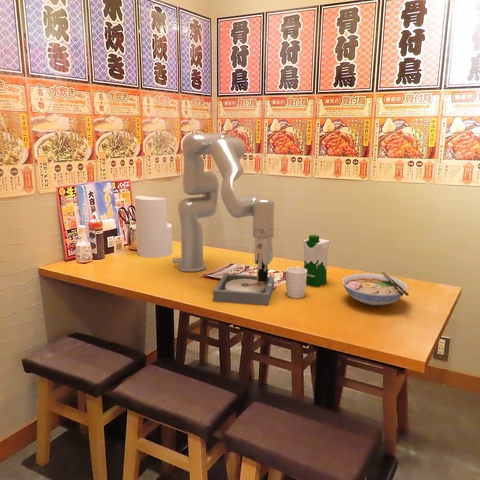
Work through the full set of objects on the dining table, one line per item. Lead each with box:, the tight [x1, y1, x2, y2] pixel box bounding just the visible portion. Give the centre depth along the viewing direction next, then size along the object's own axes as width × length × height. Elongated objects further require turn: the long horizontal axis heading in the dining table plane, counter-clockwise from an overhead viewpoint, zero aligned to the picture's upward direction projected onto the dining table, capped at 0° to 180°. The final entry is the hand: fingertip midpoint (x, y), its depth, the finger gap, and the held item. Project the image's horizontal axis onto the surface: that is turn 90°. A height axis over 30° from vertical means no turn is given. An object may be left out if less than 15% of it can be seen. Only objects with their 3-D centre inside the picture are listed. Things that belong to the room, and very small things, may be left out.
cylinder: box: [134, 195, 173, 259], centre depth 224 cm, size 17×17×28 cm
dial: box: [225, 265, 265, 293], centre depth 172 cm, size 15×15×9 cm
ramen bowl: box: [342, 271, 409, 307], centre depth 165 cm, size 25×23×8 cm
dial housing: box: [212, 273, 275, 306], centre depth 173 cm, size 20×20×4 cm
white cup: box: [285, 266, 307, 299], centre depth 171 cm, size 8×8×10 cm
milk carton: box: [303, 234, 331, 288], centre depth 183 cm, size 9×9×20 cm
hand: (262, 280), depth 169 cm, fingers closed
